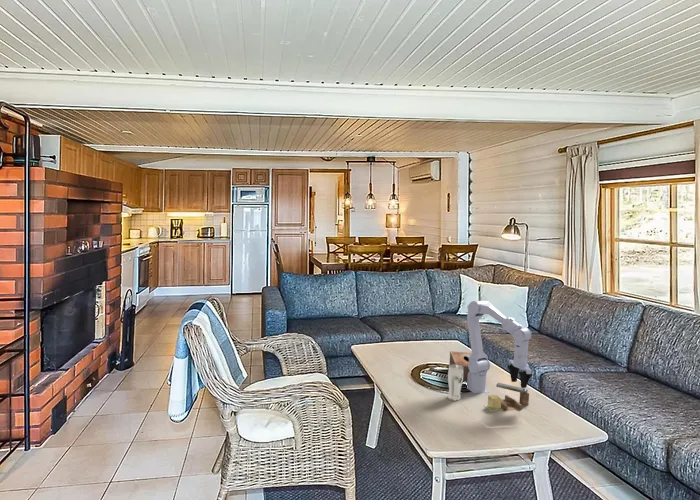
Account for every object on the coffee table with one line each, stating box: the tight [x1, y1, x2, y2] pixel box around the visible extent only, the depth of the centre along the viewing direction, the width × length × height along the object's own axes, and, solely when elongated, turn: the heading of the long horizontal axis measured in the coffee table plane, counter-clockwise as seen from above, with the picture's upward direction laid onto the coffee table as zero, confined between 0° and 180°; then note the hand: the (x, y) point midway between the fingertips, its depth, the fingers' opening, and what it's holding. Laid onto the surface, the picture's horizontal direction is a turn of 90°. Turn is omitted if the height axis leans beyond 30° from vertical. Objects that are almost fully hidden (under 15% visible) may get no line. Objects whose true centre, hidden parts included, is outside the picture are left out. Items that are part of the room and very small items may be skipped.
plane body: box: [501, 392, 530, 411], centre depth 217 cm, size 12×15×6 cm
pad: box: [484, 404, 504, 412], centre depth 212 cm, size 6×6×1 cm
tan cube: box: [487, 394, 502, 410], centre depth 212 cm, size 4×4×5 cm
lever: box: [495, 382, 529, 393], centre depth 222 cm, size 3×14×1 cm, turn 56°
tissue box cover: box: [448, 350, 472, 382], centre depth 254 cm, size 26×14×10 cm, turn 175°
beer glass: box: [447, 365, 464, 402], centre depth 222 cm, size 7×7×15 cm
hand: (518, 384), depth 216 cm, fingers open, 7 cm apart
